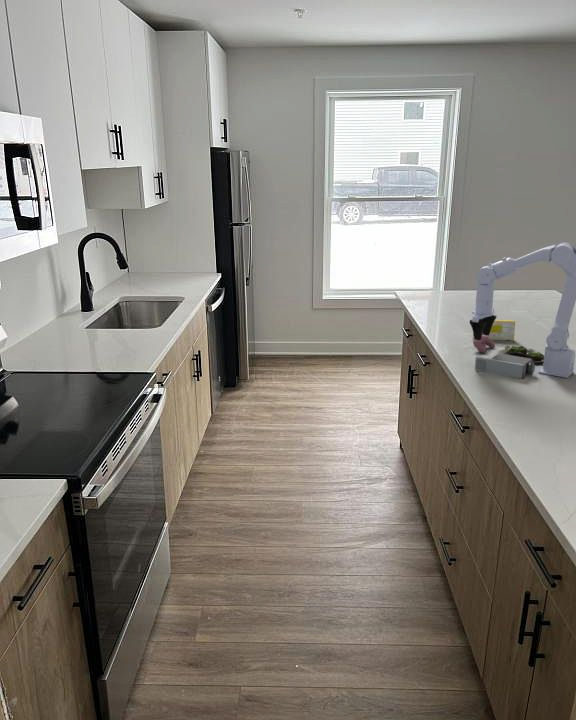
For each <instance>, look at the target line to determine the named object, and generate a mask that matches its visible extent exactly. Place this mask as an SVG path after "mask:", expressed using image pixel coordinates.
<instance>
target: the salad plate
mask: <svg viewBox="0 0 576 720" xmlns="http://www.w3.org/2000/svg"><path fill="white" fill-rule="evenodd" d="M499 353H500V354H506V355H512V356H518V357H524V358H530V359H532V363H534V364H535V366H539V365H543V364H544V355H545V353H542V352H540V350H537V349H535V348H534V349H533V348H526V347H525V346H524V345H517V346H515V345H514V344H512V346H511V347H510V346H509V345H505V346H504V349H500V350H499V349H498V350H497V351H496V355H497V354H499ZM527 353H528V354H527Z"/></svg>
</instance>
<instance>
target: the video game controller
mask: <svg viewBox="0 0 576 720" xmlns="http://www.w3.org/2000/svg"><path fill="white" fill-rule="evenodd" d="M472 343H473V346H474V347H475V348H476V350H478V351H479V352H480V353H481V354H484V353H485V354H487V347H488V348H491V349H494V348H495V347H496V344H495V343H494V342H493V340H490V339H489V338H488V337H487V336H486V335H482V338H481V340H475V339H473V341H472Z"/></svg>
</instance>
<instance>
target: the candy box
mask: <svg viewBox="0 0 576 720" xmlns="http://www.w3.org/2000/svg"><path fill="white" fill-rule="evenodd" d="M515 328H516V320H507V319H506V320H505V319H504V320H501V319H495V321H494V323H493V325H492V328H491V331H490V334H489V335H486V336H487V337H488V338H489V339H490V340H491V341H506V340H510V341H511V342H514V341H515V330H516V329H515ZM482 335H483V333H482ZM472 339H473V340H474V334H473V333H472ZM510 341H509V342H510Z"/></svg>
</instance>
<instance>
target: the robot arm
mask: <svg viewBox="0 0 576 720" xmlns="http://www.w3.org/2000/svg"><path fill="white" fill-rule="evenodd" d="M540 261H542V262H546V263H550V262H551V261H552V263H554V264H555V265H556V266H558V267H559V268H561V269H562V270H563V271H564V273H565V274H566V276H567V277H566V280H565V282H564V283H565V284H564V287H563V291H562V294H561V298H560V301H559V305H558V308H557V313H556V316H555V320H554V323H553V325H552V326H553V327H552V328H551V329H550V330H549V332H548V333H549V334H548V335H547V337H546V338H545V339H546V341H545V342H546V344H545V347H544V364H542V365H543V366H542V368H541V369H540V370H539V371H538V373H539V374H541V375H547V376H555V377H560V378H567V379H568V378H569V377H570V376H571V375H572V374H573V373H574V372H575V370H574V369H575V368H574V367H575V361H576V351H575V350H573V349H570V348H569V346H568V344H567V342H568V340H569V337H570V331H569V327H570V323H571V319H572V316H573V312H574V308H575V304H576V248H575V247H574V245H573V244H571V243H569V242H566V241H565V242H560V243H558V244H557V245H556V244H552V245H549V246H546V247H542V248H540V249H537V250H534V251H533V252H530V253H528V254H525V255H522V256H521V257H518V258H516V259H515V258H513V257H507V256H504V257H503V258H501V260H500V261H497V262H494V263H492V262H490V263H488V265H485V266H482V267H481V268H480V269H479V270H478V271H477V272H476V275H475V278H476V281H477V283H476V285H477V287H476V296H475V310H473V311H472V312H471V314H473V316H472V319H470V320H469V324H470V327H471V329H472V335H473V334H474V339H475V340H481V338H482V333H483V335H489V334H490V331H491V328H492V325H493V323H494V321H495V320H497V317H498V316H497V315H496V314H495V308H493V306H494V305H493V303H494V289H495V288H494V285H495V284H494V283H495V280H500V279H502V278H506V277H509V276H512V275H515V274H516V273H517V272H518V270H519V268H522V267H526V266H528V265H531V264H535V263H538V262H540ZM474 339H473V340H474Z"/></svg>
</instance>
